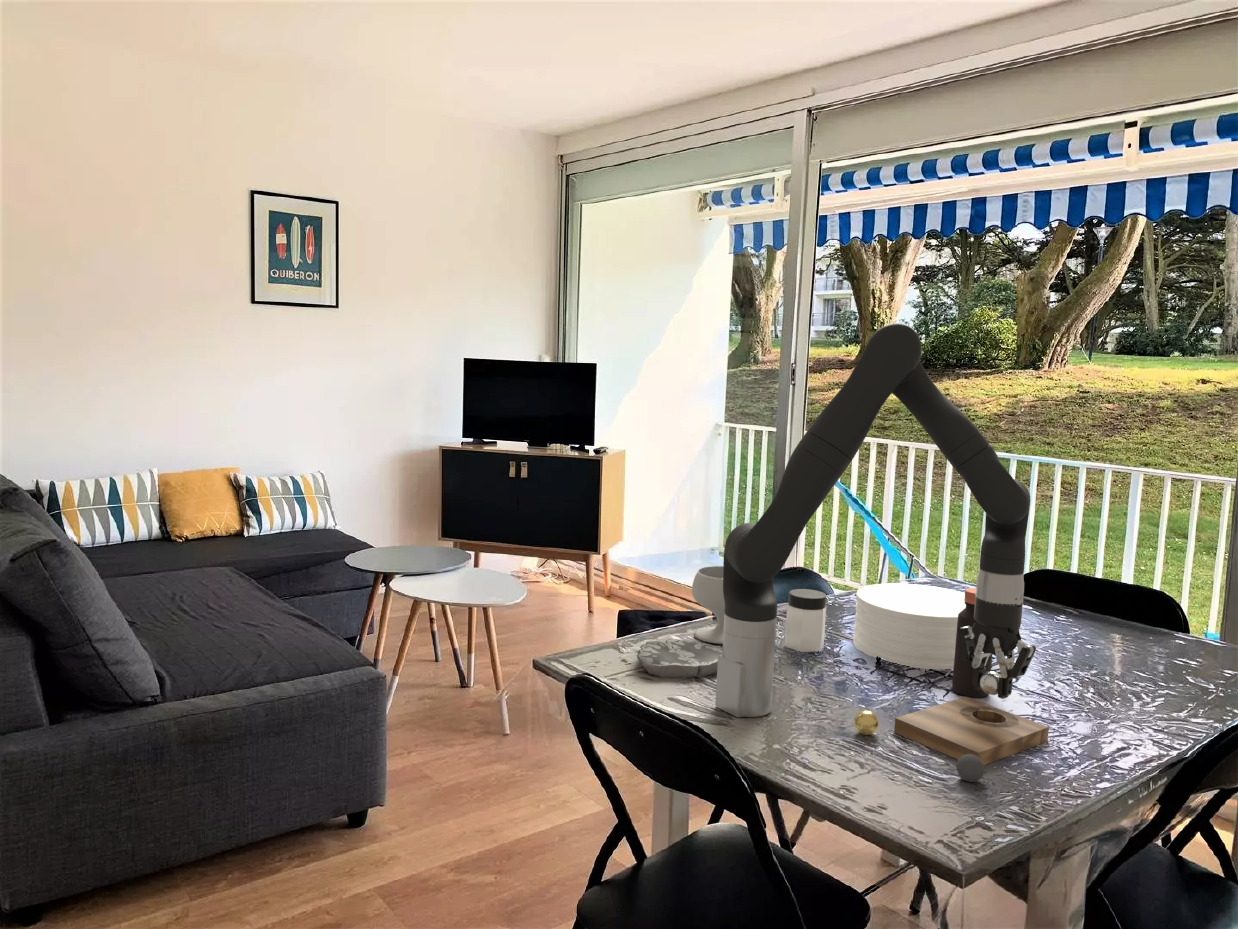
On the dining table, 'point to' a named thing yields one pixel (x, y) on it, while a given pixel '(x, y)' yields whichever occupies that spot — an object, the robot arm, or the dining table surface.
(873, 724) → the brass ball
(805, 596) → the jar
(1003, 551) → the robot arm
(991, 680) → the steel ball
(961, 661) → the bottle
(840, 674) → the dining table surface
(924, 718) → the board
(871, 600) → the plate stack
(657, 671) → the brain slice
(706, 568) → the chalice
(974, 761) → the rubber ball
